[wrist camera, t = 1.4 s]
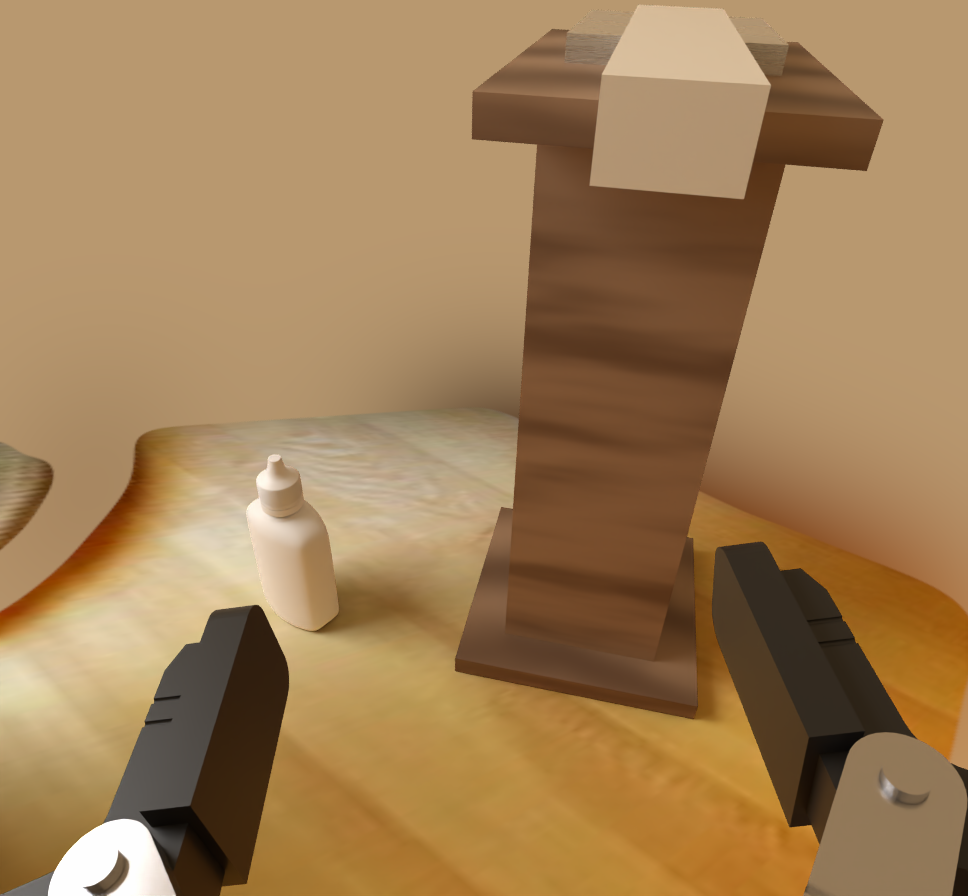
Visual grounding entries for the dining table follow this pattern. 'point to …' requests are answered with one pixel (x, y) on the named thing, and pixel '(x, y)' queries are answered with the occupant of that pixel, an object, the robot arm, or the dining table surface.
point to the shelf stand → (624, 382)
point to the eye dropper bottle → (292, 549)
